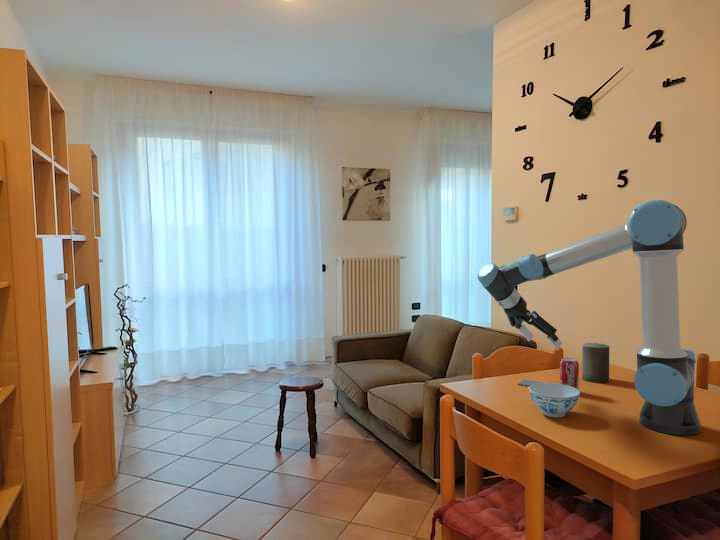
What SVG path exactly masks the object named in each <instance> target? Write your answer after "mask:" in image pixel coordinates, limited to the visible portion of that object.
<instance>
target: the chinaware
mask: <svg viewBox="0 0 720 540" xmlns="http://www.w3.org/2000/svg"><path fill="white" fill-rule="evenodd" d="M528 391H529V395H530V398H531V400H532V402H533V403H534V405H535V406H536V407H538V409H540V411H542V412H541V413H542V415H545V416H547V417H551V418H563V417H566V414H567V413H569V412H570V411H572V410H573V409H574V408H575V407H576V406H577V404H578V401H580V396H581V391H580V390H579V388H578V389H576V388H574V387H571V386H567V385H563V384H560V383H555V382H554V383H553V382H543V383H537V384H533V385H530V386H529V387H528Z"/></svg>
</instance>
